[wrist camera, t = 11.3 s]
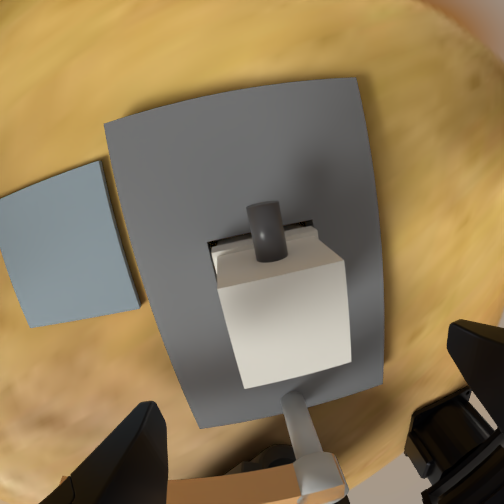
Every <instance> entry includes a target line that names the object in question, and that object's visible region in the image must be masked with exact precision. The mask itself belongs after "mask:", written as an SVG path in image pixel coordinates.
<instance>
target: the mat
mask: <svg viewBox="0 0 504 504" xmlns="http://www.w3.org/2000/svg"><path fill="white" fill-rule="evenodd" d="M0 249H1V252H2V256H3V259H4V262H5V265H6V268H7V271H8V274H9V277H10V279H11V282H12V285H13V288H14V290H15V293H16V295H17V298H18V301H19V303H20V306H21V308H22V310H23V313H24V315H25V318H26V320H27V322H28V324H29V327H30V328H34V327H40V326H46V325H52V324H58V323H64V322H69V321H75V320H81V319H87V318H92V317H98V316H103V315H109V314H114V313H119V312H125V311H130V310H135V309H140V307H141V303H140V300H139V297H138V294H137V291H136V288H135V285H134V282H133V279H132V275H131V272H130V269H129V266H128V263H127V259H126V256H125V253H124V249H123V246H122V242H121V239H120V235H119V232H118V228H117V224H116V220H115V217H114V213H113V209H112V205H111V201H110V197H109V192H108V188H107V184H106V180H105V175H104V170H103V166H102V161H96V162H93V163H90V164H87V165H84V166H81V167H79V168H76V169H73V170H70V171H67V172H65V173H62V174H59V175H57V176H54V177H51V178H49V179H46V180H44V181H41V182H39V183H36V184H34V185H31V186H29V187H26V188H24V189H22V190H19V191H17V192H15V193H12V194H10V195H8V196H6V197H3V198H1V199H0Z"/></svg>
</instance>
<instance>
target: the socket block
mask: <svg viewBox="0 0 504 504" xmlns="http://www.w3.org/2000/svg"><path fill="white" fill-rule="evenodd" d="M104 128H105V134H106V139H107V144H108V149H109V154H110V159H111V164H112V169H113V173H114V178H115V182H116V187H117V191H118V195H119V199H120V203H121V207H122V211H123V215H124V219H125V223H126V227H127V230H128V234H129V238H130V241H131V245H132V248H133V252H134V255H135V259H136V262H137V265H138V268H139V272H140V275H141V278H142V281H143V284H144V288H145V291H146V294H147V297H148V300H149V303H150V306H151V309H152V312H153V314H154V317H155V320H156V323H157V326H158V329H159V331H160V334H161V337H162V339H163V342H164V345H165V347H166V350H167V353H168V355H169V358H170V360H171V363H172V366H173V368H174V371H175V373H176V375H177V378H178V380H179V383H180V385H181V388H182V390H183V392H184V395H185V397H186V399H187V402H188V404H189V406H190V408H191V411H192V413H193V415H194V417H195V420H196V422H197V424H198V426H199V428H200V429H203V428H210V427H217V426H223V425H229V424H235V423H240V422H246V421H251V420H256V419H261V418H265V417H270V416H275V415H279V414H283V413H284V417H285V421H286V424H287V428H288V432H289V435H290V439H291V443H292V446H293V450H294V453H295V457H296V460H298V459H299V458H301V457H303V456H305V455H308V454H312V453H316V452H323V450H322V447H321V444H320V441H319V439H318V436H317V433H316V430H315V428H314V425H313V422H312V419H311V417H310V414H309V411H308V408H307V407H311V406H315V405H318V404H322V403H325V402H329V401H332V400H336V399H339V398H342V397H345V396H349V395H352V394H355V393H358V392H361V391H364V390H367V389H370V388H373V387H375V386H378V385H381V384H383V366H384V283H383V262H382V246H381V233H380V222H379V212H378V202H377V194H376V186H375V178H374V171H373V164H372V157H371V151H370V145H369V139H368V133H367V127H366V122H365V117H364V112H363V107H362V102H361V97H360V92H359V88H358V83H357V79H356V77H353V78H334V79H320V80H308V81H298V82H289V83H281V84H273V85H266V86H259V87H252V88H246V89H240V90H234V91H229V92H224V93H218V94H213V95H209V96H204V97H199V98H195V99H190V100H186V101H182V102H178V103H174V104H170V105H166V106H162V107H158V108H154V109H151V110H147V111H144V112H140V113H137V114H133V115H130V116H127V117H124V118H121V119H117V120H114V121H111V122H108V123H105V124H104ZM265 201H279V205H280V211H281V216H282V222H283V225H288V224H293V223H298V222H302V221H305V222H306V227H307V226H312V227H314V228H315V229H316V230H317V231H318V238H319V240H320V241H321V242H322V243H324V244H325V245H326V246H327V247H329V248H330V249H331V250H332V251H334V252H335V253H336V254H337V255H338V256H340V257H341V258H342V259H343V260H344V263H345V273H346V283H347V295H348V308H349V323H350V340H351V362H349V363H346V364H343V365H339V366H336V367H332V368H329V369H325V370H322V371H318V372H315V373H311V374H307V375H303V376H299V377H295V378H291V379H287V380H283V381H279V382H275V383H270V384H266V385H261V386H257V387H252V388H247V389H244V386H243V382H242V379H241V375H240V372H239V368H238V365H237V361H236V358H235V354H234V351H233V347H232V343H231V340H230V336H229V332H228V328H227V325H226V321H225V317H224V313H223V310H222V306H221V302H220V298H219V294H218V290H217V274H216V270H215V266H214V262H213V258H212V253H211V252H212V251H211V247H210V243H209V241H214V240H218V239H223V238H227V237H232V236H237V235H241V234H246V233H250V232H251V230H250V225H249V220H248V215H247V210H246V207H247V206H249V205H252V204H255V203H260V202H265Z"/></svg>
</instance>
